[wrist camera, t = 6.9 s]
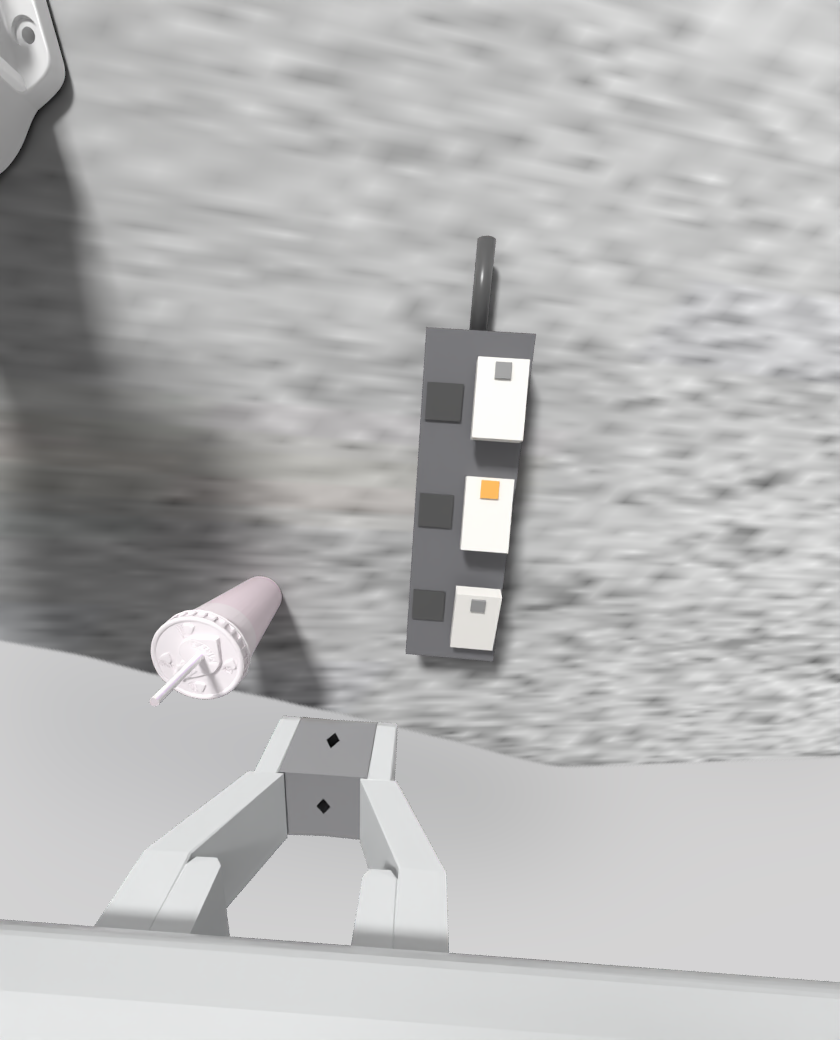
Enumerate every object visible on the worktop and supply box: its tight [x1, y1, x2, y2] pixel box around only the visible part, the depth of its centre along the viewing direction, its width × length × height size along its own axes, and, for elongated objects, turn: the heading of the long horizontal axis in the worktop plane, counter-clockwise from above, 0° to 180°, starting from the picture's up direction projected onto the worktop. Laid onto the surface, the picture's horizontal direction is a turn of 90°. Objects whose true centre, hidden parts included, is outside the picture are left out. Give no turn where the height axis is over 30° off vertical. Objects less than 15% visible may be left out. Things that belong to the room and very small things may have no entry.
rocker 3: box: [450, 586, 502, 651], centre depth 29 cm, size 5×3×1 cm, turn 176°
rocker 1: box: [470, 356, 530, 443], centre depth 24 cm, size 5×3×1 cm, turn 177°
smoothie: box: [149, 576, 282, 706], centre depth 28 cm, size 6×6×14 cm
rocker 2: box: [460, 476, 514, 553], centre depth 26 cm, size 5×3×1 cm, turn 177°
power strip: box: [406, 236, 536, 661], centre depth 29 cm, size 30×7×4 cm, turn 176°
